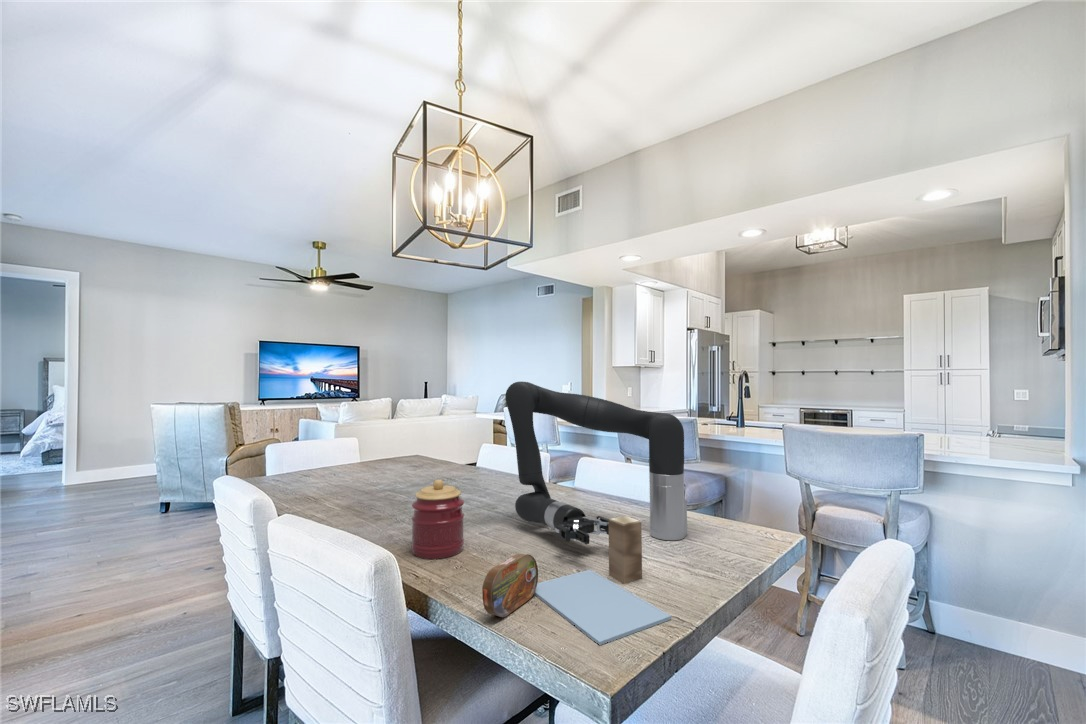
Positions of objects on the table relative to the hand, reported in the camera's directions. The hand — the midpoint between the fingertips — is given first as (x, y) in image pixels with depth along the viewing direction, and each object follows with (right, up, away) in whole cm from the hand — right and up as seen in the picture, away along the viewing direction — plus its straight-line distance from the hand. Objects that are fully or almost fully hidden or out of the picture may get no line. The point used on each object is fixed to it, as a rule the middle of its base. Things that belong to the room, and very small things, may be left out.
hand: (603, 536), depth 108 cm
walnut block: (+4, -6, -7) cm, 10 cm away
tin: (-20, -6, -20) cm, 29 cm away
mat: (-4, -6, -19) cm, 20 cm away
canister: (-40, -7, +10) cm, 42 cm away
